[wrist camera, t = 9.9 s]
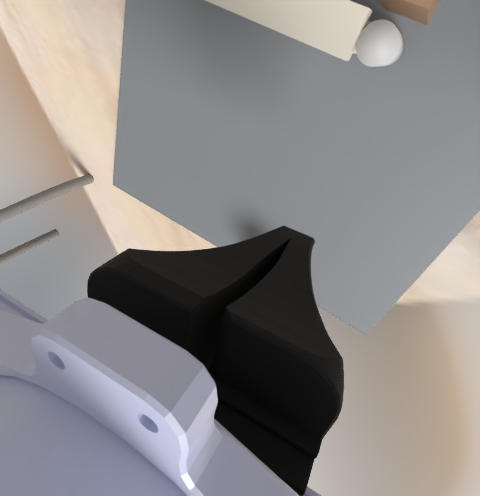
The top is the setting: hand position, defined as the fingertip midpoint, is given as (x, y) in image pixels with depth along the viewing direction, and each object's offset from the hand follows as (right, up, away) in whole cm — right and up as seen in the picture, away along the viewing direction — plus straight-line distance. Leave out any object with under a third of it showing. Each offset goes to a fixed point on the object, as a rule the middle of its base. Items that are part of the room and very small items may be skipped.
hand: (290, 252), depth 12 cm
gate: (0, +13, +4) cm, 13 cm away
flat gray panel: (0, +8, +7) cm, 11 cm away
